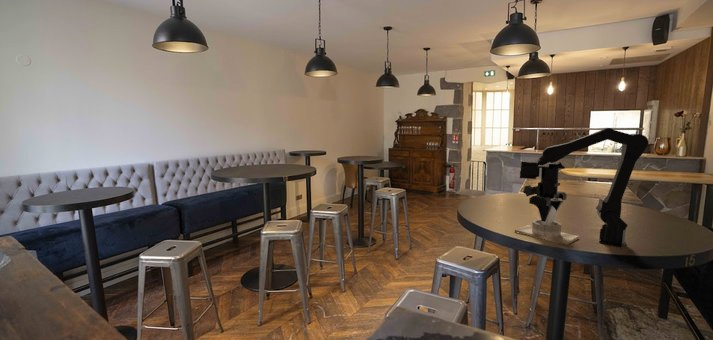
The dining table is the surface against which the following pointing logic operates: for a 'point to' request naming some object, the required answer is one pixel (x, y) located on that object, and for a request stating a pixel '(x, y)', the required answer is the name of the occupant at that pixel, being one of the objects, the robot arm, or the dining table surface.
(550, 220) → the lightbulb
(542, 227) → the lamp base
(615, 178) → the robot arm
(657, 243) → the dining table surface
